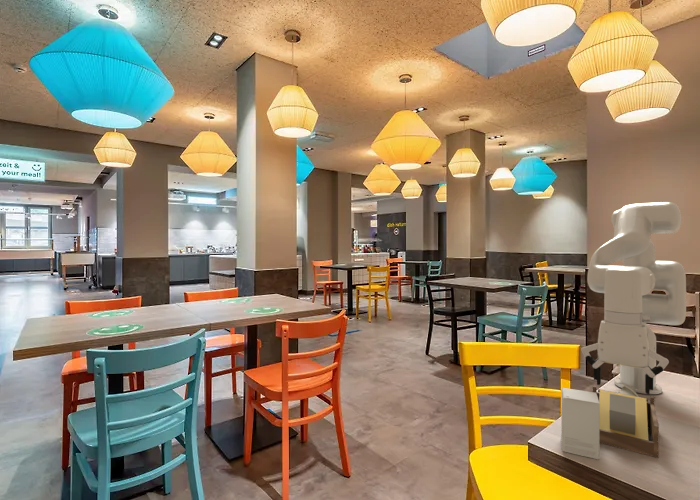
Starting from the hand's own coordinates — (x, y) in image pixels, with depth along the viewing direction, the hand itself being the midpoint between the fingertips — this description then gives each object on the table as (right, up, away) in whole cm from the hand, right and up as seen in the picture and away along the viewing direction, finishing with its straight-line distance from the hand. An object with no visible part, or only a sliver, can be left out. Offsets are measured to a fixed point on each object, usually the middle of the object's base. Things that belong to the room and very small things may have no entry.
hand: (622, 387), depth 92 cm
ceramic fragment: (+19, -13, +22) cm, 32 cm away
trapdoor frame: (+1, -13, +2) cm, 13 cm away
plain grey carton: (+1, -9, +1) cm, 9 cm away
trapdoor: (+2, -9, +3) cm, 10 cm away
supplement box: (-13, -13, -4) cm, 19 cm away
